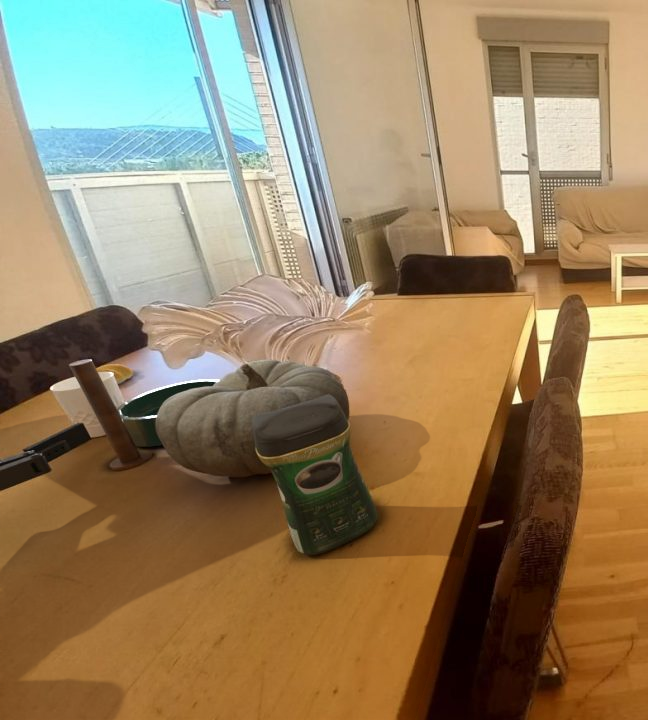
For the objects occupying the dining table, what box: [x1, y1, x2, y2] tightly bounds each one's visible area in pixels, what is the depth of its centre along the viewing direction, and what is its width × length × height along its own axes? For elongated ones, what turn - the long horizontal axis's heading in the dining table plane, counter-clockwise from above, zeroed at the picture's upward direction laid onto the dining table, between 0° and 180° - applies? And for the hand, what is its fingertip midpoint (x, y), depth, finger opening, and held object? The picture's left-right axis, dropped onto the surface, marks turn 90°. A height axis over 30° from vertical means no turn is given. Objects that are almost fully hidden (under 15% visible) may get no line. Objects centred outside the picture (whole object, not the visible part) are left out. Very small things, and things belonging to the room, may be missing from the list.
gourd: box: [155, 358, 351, 478], centre depth 77 cm, size 25×25×17 cm
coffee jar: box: [252, 395, 378, 556], centre depth 59 cm, size 10×8×19 cm
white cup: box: [49, 372, 126, 439], centre depth 87 cm, size 8×8×10 cm
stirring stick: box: [68, 358, 153, 471], centre depth 75 cm, size 5×5×18 cm
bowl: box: [117, 378, 220, 448], centre depth 88 cm, size 16×16×6 cm
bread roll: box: [96, 363, 134, 385], centre depth 107 cm, size 8×9×4 cm
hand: (37, 432), depth 66 cm, fingers open, 13 cm apart
